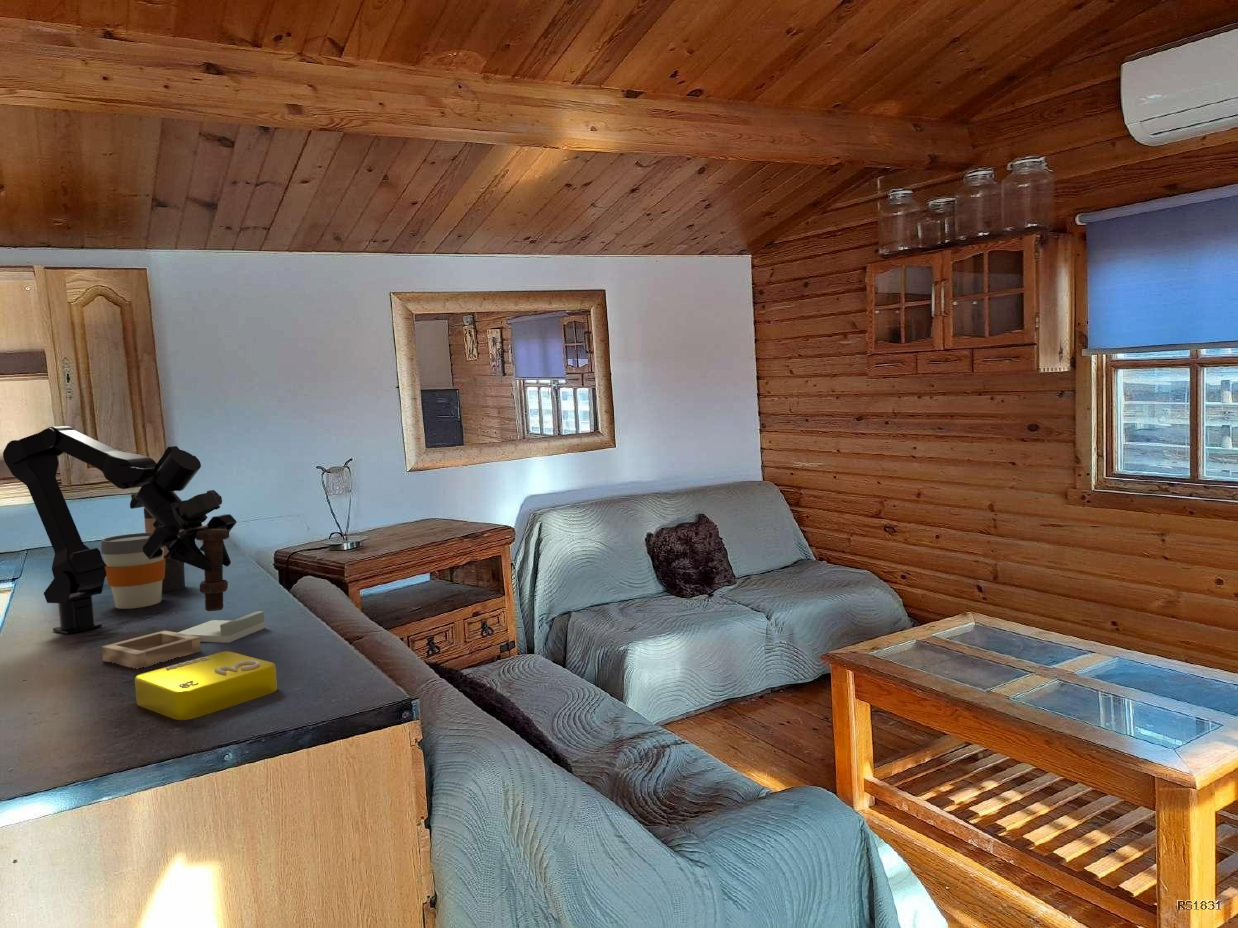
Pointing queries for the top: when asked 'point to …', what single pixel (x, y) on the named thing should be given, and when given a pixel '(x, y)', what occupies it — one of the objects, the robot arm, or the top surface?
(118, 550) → the reusable coffee cup
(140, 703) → the element tile
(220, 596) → the bolt
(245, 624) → the pale green ledge plate
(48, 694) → the top surface
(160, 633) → the socket
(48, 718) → the top surface
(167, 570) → the travel mug
